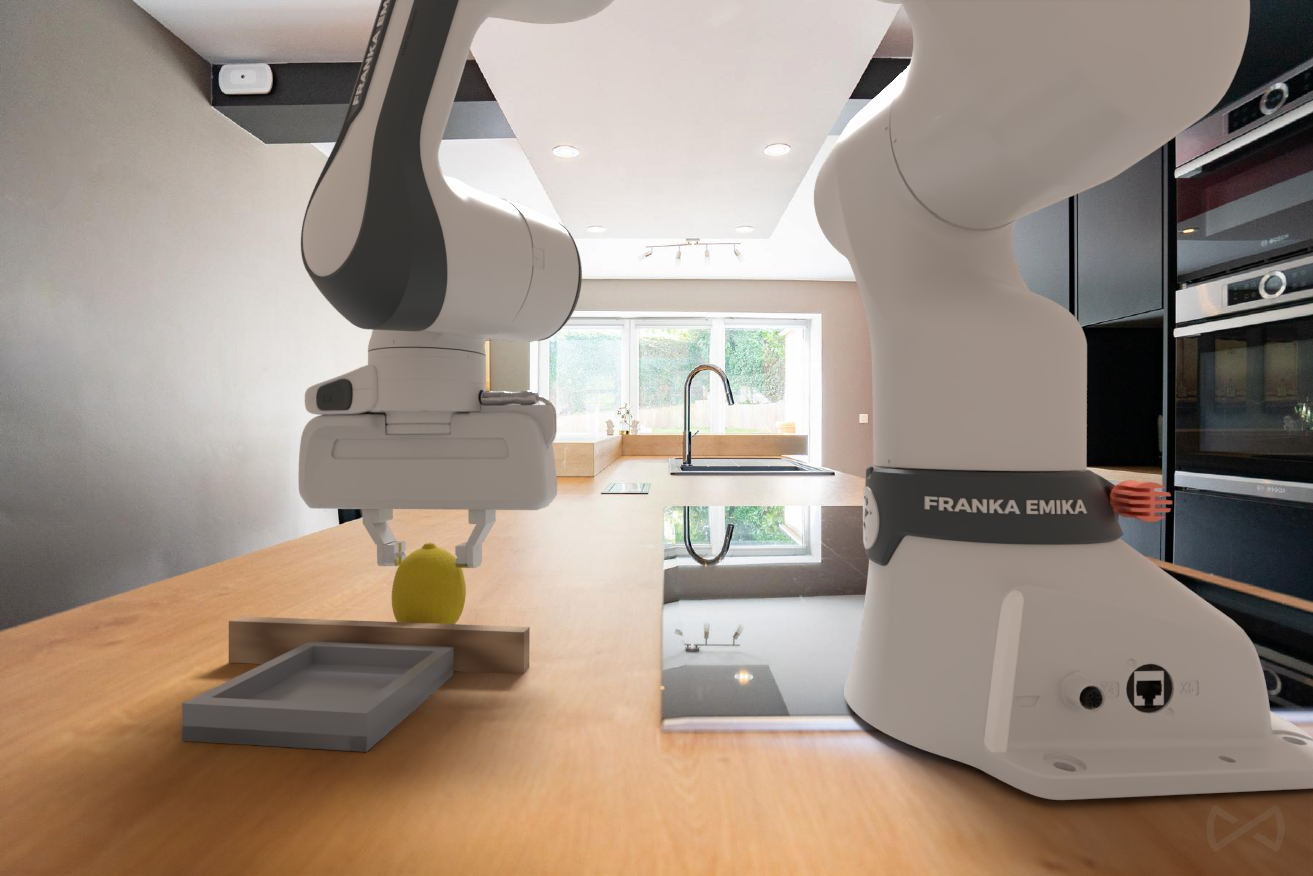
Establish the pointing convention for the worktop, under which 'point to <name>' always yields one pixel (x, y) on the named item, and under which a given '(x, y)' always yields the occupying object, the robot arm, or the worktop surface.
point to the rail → (383, 640)
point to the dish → (320, 696)
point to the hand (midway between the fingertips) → (430, 566)
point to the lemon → (428, 587)
